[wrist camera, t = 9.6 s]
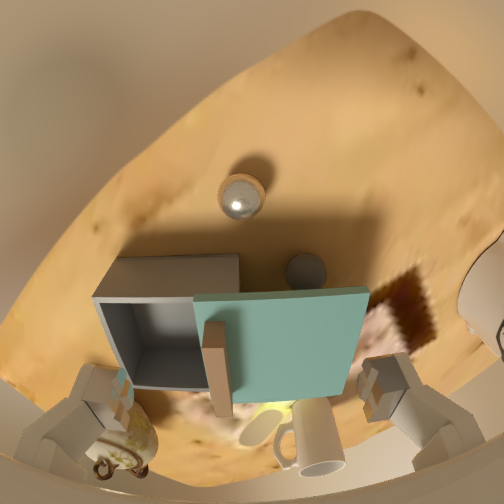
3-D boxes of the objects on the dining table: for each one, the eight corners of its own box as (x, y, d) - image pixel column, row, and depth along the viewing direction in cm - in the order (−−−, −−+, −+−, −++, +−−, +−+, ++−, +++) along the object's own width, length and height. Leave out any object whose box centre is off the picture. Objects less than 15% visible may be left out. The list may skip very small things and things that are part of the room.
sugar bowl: (55, 374, 40) (25, 446, 27) (117, 362, 38) (89, 453, 25) (124, 434, 49) (111, 497, 36) (186, 428, 47) (180, 502, 34)
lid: (366, 285, 24) (383, 316, 21) (339, 387, 31) (347, 416, 27) (194, 294, 24) (187, 328, 20) (212, 396, 31) (211, 426, 27)
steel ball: (263, 167, 27) (266, 179, 23) (263, 209, 29) (267, 227, 25) (217, 169, 27) (214, 181, 23) (220, 211, 28) (217, 228, 25)
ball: (323, 245, 31) (333, 266, 27) (319, 278, 33) (328, 301, 29) (283, 247, 31) (289, 268, 27) (282, 280, 32) (287, 304, 29)
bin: (238, 253, 31) (238, 295, 24) (243, 345, 37) (244, 390, 31) (116, 257, 30) (91, 297, 24) (142, 345, 37) (130, 388, 30)
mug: (331, 389, 43) (347, 456, 32) (331, 410, 46) (345, 471, 35) (266, 401, 43) (272, 470, 33) (272, 421, 46) (278, 483, 36)
